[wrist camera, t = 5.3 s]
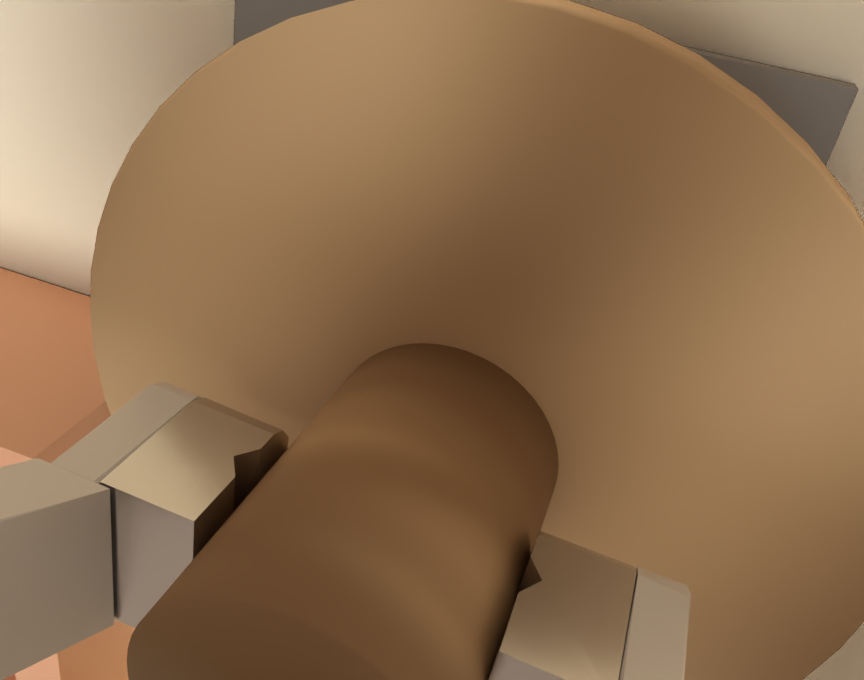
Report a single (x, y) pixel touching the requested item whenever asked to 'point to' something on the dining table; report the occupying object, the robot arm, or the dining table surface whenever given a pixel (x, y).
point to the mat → (779, 88)
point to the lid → (492, 339)
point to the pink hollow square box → (53, 425)
